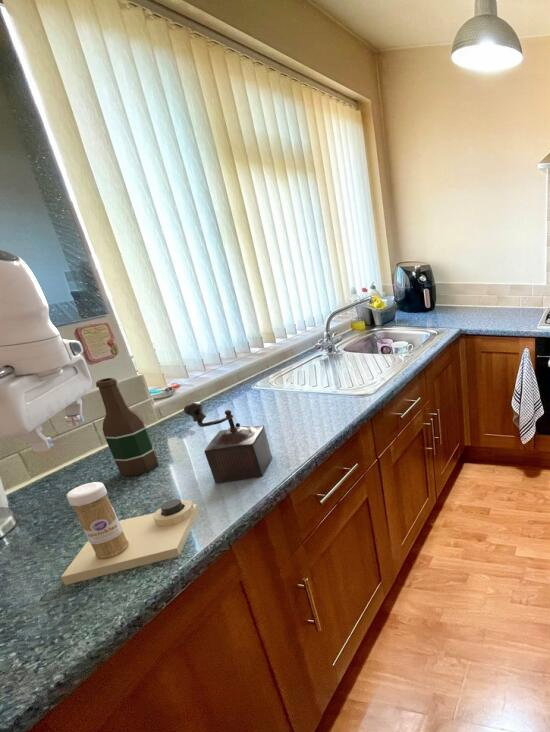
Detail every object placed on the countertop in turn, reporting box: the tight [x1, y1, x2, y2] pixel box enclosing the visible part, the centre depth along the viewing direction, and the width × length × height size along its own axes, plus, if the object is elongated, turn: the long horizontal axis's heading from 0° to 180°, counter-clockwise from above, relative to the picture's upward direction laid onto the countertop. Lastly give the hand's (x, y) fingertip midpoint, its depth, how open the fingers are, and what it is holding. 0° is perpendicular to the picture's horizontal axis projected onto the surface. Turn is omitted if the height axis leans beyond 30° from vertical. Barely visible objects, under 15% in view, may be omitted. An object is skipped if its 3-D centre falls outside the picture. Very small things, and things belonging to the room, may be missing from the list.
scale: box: [60, 499, 200, 586], centre depth 77 cm, size 16×14×4 cm
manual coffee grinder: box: [183, 400, 273, 485], centre depth 97 cm, size 16×11×18 cm
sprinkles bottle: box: [66, 481, 129, 559], centre depth 71 cm, size 5×5×13 cm
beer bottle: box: [95, 377, 159, 477], centre depth 97 cm, size 8×8×24 cm
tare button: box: [160, 498, 183, 516], centre depth 81 cm, size 3×3×2 cm
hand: (61, 436), depth 67 cm, fingers open, 8 cm apart
